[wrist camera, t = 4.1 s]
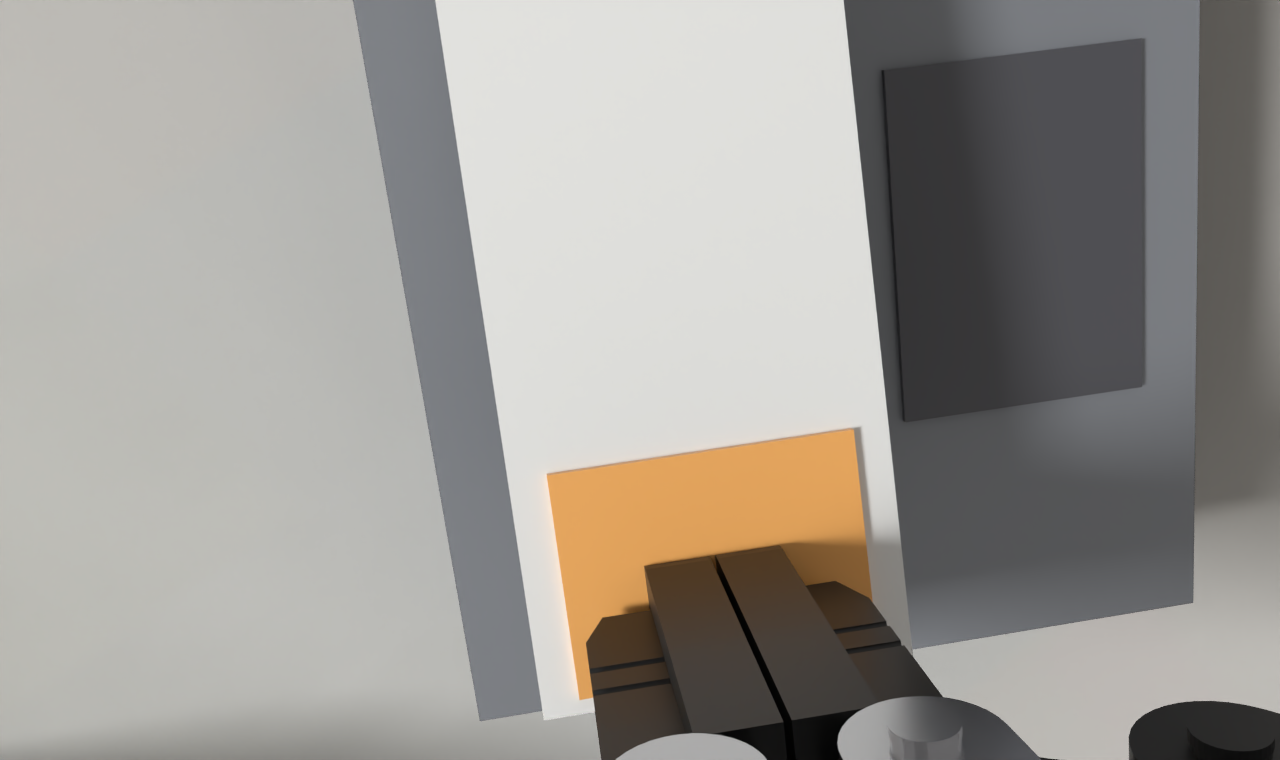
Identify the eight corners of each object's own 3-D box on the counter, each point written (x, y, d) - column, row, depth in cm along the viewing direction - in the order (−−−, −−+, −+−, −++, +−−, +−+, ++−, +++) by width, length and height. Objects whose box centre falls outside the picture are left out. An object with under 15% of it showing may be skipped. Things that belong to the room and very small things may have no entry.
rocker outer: (436, -37, 12) (423, -73, 11) (802, -79, 12) (834, -117, 11) (542, 677, 13) (543, 724, 12) (879, 622, 13) (916, 662, 12)
